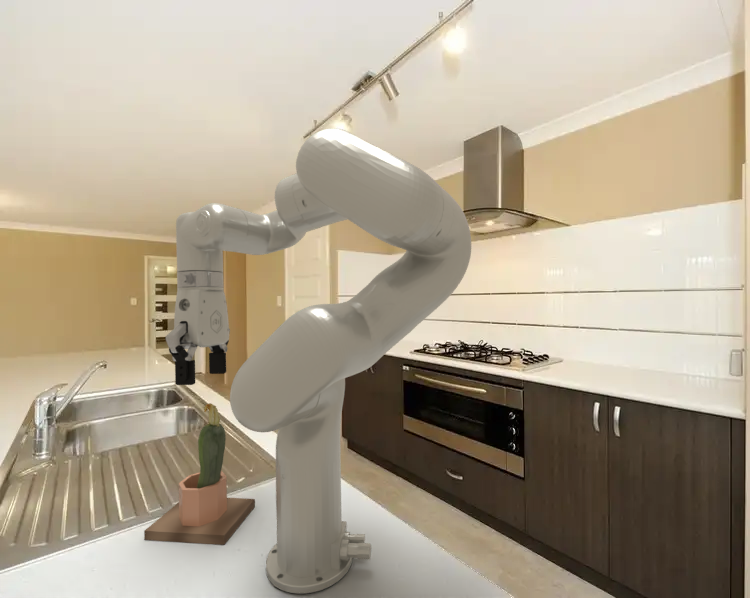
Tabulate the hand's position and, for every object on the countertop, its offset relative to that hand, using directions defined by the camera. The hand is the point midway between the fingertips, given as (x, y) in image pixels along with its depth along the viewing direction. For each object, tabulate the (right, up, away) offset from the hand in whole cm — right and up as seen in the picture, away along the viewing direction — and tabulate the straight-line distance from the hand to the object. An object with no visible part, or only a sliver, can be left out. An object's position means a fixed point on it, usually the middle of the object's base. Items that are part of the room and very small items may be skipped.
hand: (202, 378), depth 65 cm
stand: (0, -26, 0) cm, 26 cm away
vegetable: (0, -23, 0) cm, 23 cm away
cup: (0, -24, 0) cm, 24 cm away
